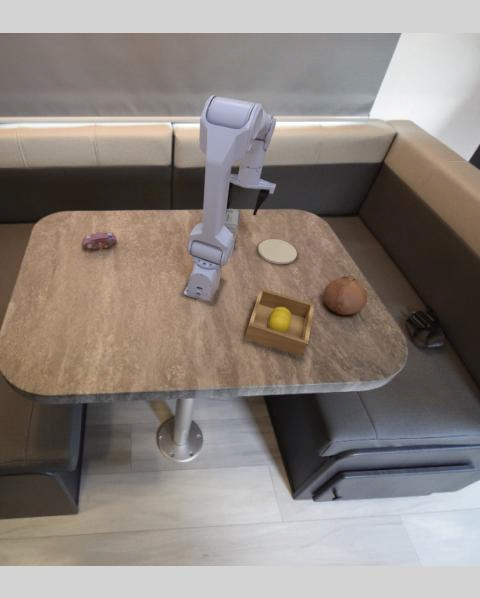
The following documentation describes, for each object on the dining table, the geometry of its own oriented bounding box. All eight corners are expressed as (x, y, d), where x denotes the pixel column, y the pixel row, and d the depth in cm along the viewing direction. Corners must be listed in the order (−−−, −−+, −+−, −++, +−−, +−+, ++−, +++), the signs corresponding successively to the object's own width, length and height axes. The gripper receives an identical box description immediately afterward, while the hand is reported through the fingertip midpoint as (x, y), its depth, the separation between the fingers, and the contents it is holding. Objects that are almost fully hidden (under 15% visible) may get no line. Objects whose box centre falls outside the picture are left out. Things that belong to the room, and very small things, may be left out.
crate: (300, 358, 77) (308, 343, 73) (243, 339, 80) (248, 324, 76) (307, 318, 85) (314, 303, 81) (255, 303, 88) (260, 288, 84)
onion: (327, 305, 92) (337, 268, 89) (366, 317, 86) (378, 278, 83) (312, 312, 86) (323, 273, 82) (353, 326, 80) (366, 283, 76)
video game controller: (84, 255, 102) (82, 244, 95) (81, 241, 103) (79, 230, 97) (117, 250, 104) (118, 239, 97) (114, 237, 105) (115, 225, 99)
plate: (293, 268, 98) (294, 266, 97) (254, 258, 101) (254, 256, 100) (298, 246, 105) (299, 244, 104) (262, 237, 108) (262, 235, 107)
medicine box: (233, 249, 103) (238, 224, 97) (218, 247, 103) (222, 222, 97) (234, 234, 108) (240, 209, 102) (220, 232, 109) (224, 207, 103)
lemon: (284, 340, 79) (290, 327, 76) (264, 334, 80) (269, 321, 77) (289, 319, 83) (295, 306, 80) (270, 313, 85) (275, 300, 81)
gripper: (282, 163, 91) (269, 209, 101) (228, 152, 95) (220, 198, 104) (278, 174, 86) (264, 221, 96) (221, 163, 90) (214, 209, 100)
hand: (241, 210), depth 100 cm, fingers open, 7 cm apart
